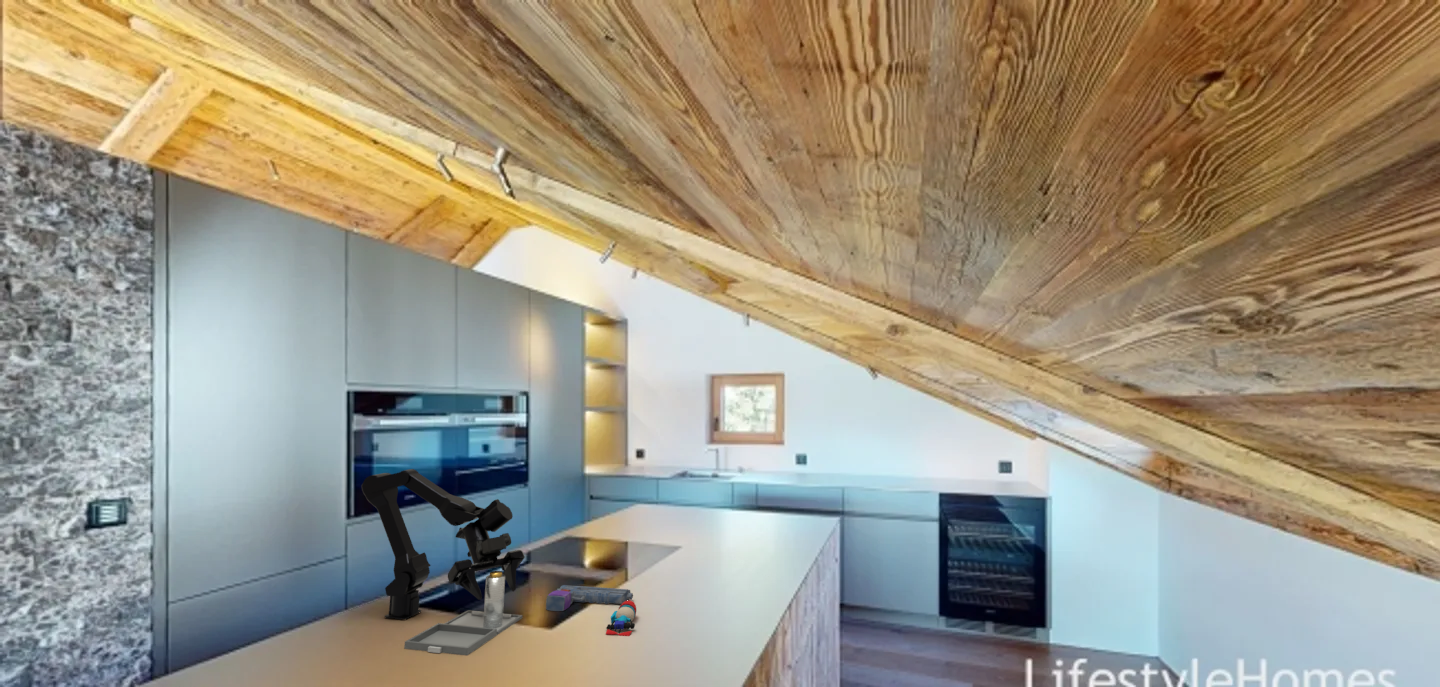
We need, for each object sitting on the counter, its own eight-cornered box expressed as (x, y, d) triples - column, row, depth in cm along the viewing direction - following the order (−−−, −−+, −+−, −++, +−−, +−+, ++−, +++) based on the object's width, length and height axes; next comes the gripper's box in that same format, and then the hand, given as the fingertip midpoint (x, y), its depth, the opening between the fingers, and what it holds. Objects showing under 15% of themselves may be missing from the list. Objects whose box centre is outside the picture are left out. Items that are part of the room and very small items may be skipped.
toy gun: (620, 599, 164) (635, 585, 178) (539, 593, 167) (560, 580, 181) (619, 616, 163) (634, 601, 178) (538, 610, 166) (559, 596, 181)
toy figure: (632, 643, 149) (643, 612, 164) (630, 624, 149) (642, 594, 164) (602, 644, 150) (616, 613, 164) (601, 625, 149) (615, 596, 164)
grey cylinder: (479, 627, 149) (482, 574, 151) (489, 621, 154) (492, 569, 155) (496, 629, 148) (499, 575, 150) (505, 623, 153) (509, 570, 154)
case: (401, 654, 136) (402, 642, 136) (437, 633, 148) (438, 623, 148) (465, 661, 133) (466, 649, 133) (496, 639, 145) (497, 628, 145)
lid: (437, 633, 148) (437, 624, 148) (467, 616, 160) (468, 607, 160) (495, 639, 145) (496, 630, 145) (522, 621, 157) (522, 612, 158)
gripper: (456, 529, 149) (475, 584, 141) (523, 519, 163) (543, 568, 155) (439, 555, 153) (457, 610, 145) (506, 544, 167) (525, 593, 159)
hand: (497, 594), depth 151 cm, fingers open, 9 cm apart
